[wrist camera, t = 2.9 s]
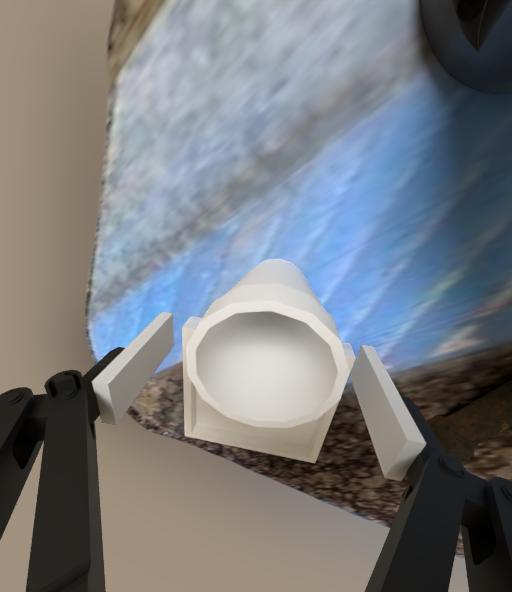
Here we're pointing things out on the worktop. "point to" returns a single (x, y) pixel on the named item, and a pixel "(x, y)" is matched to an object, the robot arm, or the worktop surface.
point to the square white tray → (224, 430)
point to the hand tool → (474, 422)
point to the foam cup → (268, 350)
